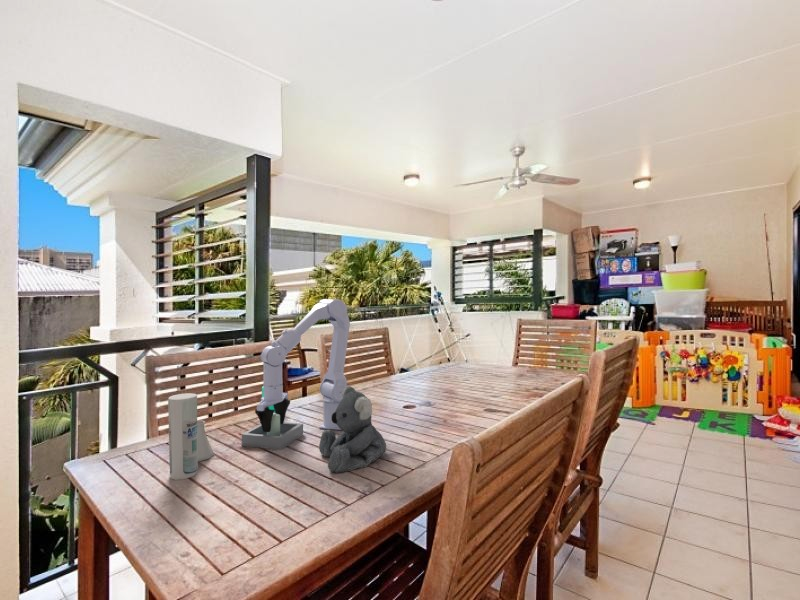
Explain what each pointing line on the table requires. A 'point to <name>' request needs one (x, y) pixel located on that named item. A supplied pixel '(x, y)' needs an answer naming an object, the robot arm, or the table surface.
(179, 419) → the spray can
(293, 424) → the bin
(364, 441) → the koala plush
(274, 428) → the cylinder
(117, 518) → the table surface
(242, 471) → the table surface
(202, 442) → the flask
